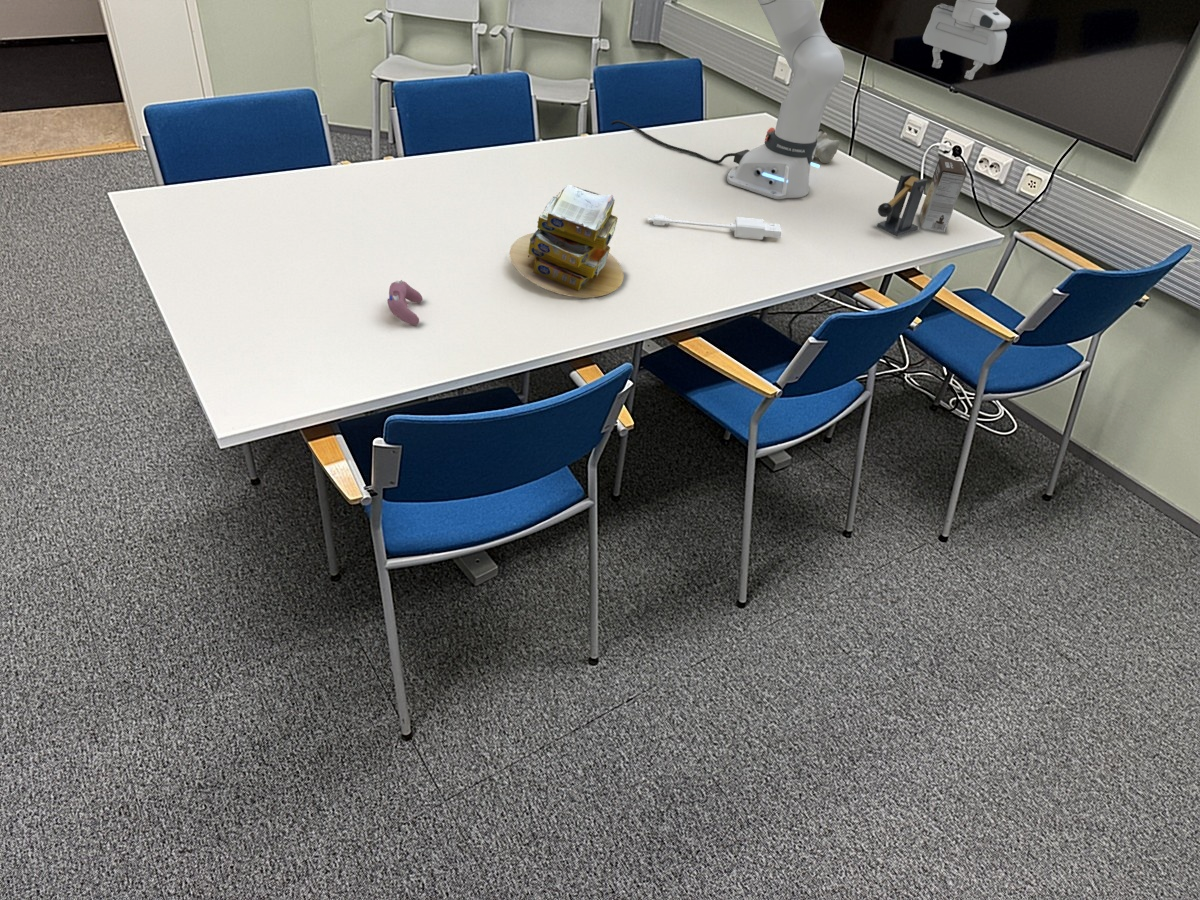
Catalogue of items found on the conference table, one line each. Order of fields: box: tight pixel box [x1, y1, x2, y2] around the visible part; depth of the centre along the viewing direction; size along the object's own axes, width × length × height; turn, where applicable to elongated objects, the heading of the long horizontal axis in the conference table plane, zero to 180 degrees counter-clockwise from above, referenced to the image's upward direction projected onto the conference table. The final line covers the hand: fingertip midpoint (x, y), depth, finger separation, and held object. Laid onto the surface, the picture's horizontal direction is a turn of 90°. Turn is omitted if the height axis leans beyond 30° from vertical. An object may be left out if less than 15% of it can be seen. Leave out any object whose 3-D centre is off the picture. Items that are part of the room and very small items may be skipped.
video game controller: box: [387, 279, 423, 326], centre depth 168 cm, size 10×5×7 cm, turn 5°
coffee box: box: [918, 157, 968, 233], centre depth 226 cm, size 9×6×16 cm
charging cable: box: [646, 214, 783, 241], centre depth 213 cm, size 5×32×3 cm, turn 86°
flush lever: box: [877, 176, 920, 218], centre depth 218 cm, size 13×3×3 cm
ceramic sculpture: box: [813, 128, 840, 164], centre depth 260 cm, size 11×9×15 cm
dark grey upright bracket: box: [876, 172, 928, 237], centre depth 222 cm, size 9×6×14 cm
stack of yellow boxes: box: [509, 183, 625, 298], centre depth 184 cm, size 25×25×17 cm
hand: (951, 73), depth 217 cm, fingers open, 8 cm apart
